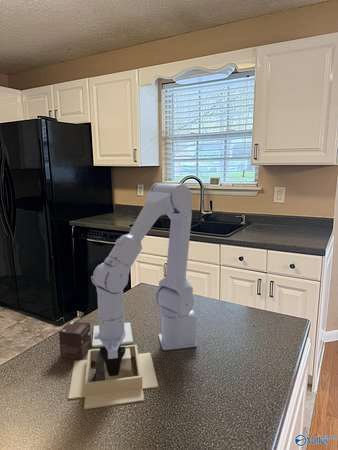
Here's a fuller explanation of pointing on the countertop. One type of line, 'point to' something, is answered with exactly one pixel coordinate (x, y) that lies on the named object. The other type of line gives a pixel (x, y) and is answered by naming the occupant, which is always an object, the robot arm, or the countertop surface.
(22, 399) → the countertop surface
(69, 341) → the box
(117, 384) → the carton
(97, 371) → the block
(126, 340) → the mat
